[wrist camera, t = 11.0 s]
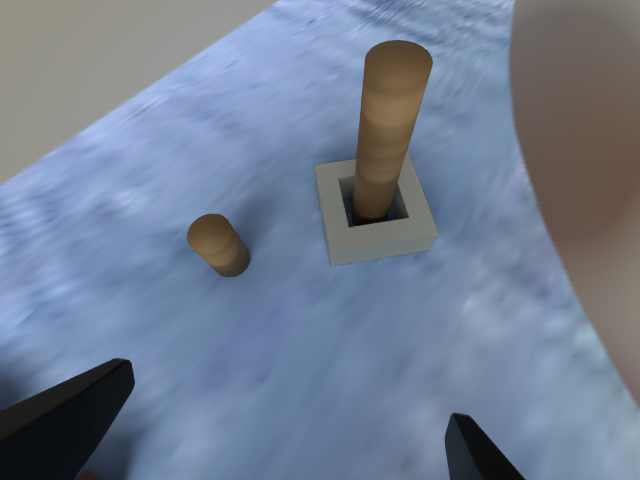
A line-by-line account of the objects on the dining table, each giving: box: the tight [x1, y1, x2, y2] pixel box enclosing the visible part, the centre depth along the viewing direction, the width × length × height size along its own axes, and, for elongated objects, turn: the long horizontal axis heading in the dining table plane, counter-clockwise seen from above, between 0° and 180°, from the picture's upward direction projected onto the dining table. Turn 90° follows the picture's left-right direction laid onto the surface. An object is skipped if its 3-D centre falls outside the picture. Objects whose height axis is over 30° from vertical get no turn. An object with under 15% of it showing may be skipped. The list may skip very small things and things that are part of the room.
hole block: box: [314, 151, 439, 267], centre depth 25 cm, size 8×8×3 cm
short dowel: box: [187, 214, 250, 277], centre depth 23 cm, size 3×3×5 cm
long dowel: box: [351, 40, 433, 226], centre depth 20 cm, size 3×3×14 cm
